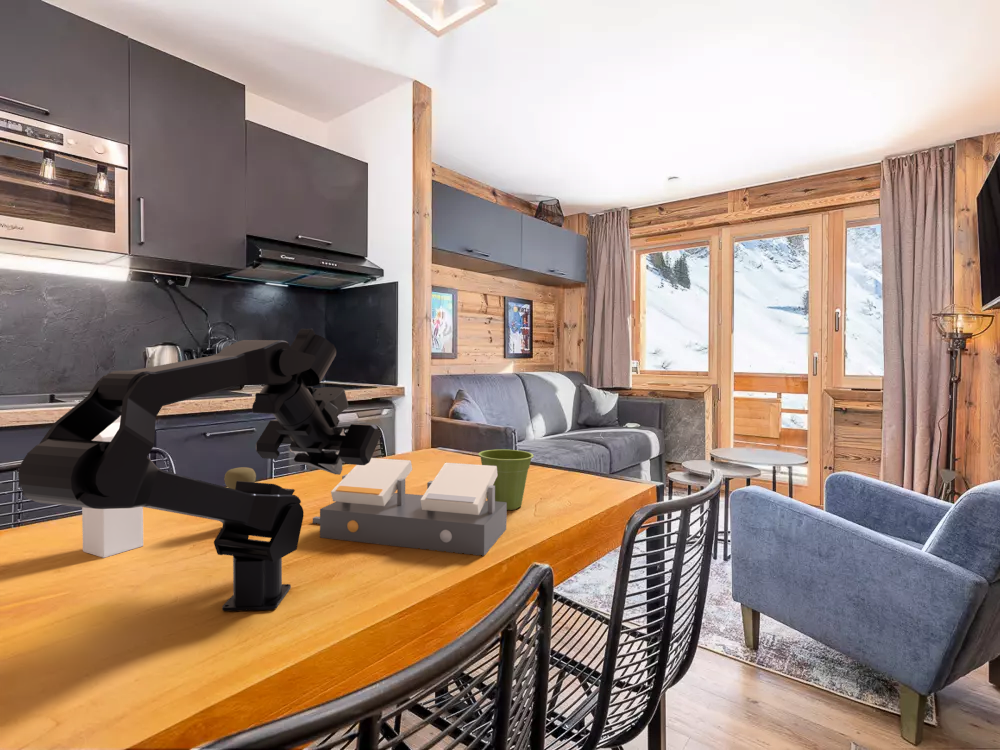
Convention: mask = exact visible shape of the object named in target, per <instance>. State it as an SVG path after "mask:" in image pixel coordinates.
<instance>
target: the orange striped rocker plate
mask: <svg viewBox="0 0 1000 750" xmlns="http://www.w3.org/2000/svg"><path fill="white" fill-rule="evenodd" d="M412 465H413V464H412V460H409V459H394V458H392V459H391V458H379V457H378V458H377V457H371V460H370V462H369V463H368V464H366V465H354V467H353V468H352V469H351V470H350V471H349V472H348V474H347V473H346V474H347V475H346V474H345V475H346V476H345V478H344V479H343V480H342V479H341V481H340V482H338V483H337V485H336V486H334V488H333V489H332V490H331V491H330V494H331V497H332V499H331V500H332V502H346V503H357V504H368V505H379V506H385V504H386V503H387V502H388V501H389V499H390V498H391V497H392V495H393V494H394V493H397V492H396V491H397V480H399V479H401V478H402V479H405V480H406V479H407V477H408V476H409V475H410V473H411V472H412V471H413V466H412Z"/></svg>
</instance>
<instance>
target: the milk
mask: <svg viewBox="0 0 1000 750" xmlns="http://www.w3.org/2000/svg"><path fill="white" fill-rule="evenodd" d="M120 419H121V416H120V417H119V418H118V419H117V420H115V421H114V422H113V423H112V424H111V425H109V426H108V427H107V428H106V429H105V430H103V431H102V432H101V433H100V434H99V435H97V436H96V437H95V438H94V439H93V440H92V441H105V442H111V440H112V439H113V437H114V436H115V434H116V433H117V431H118V430H119V427H120ZM81 509H82V510H81V511H82V512H81V514H82V516H81V517H82V518H81V519H82V520H81V521H82V525H81V526H82V552H83V553H87V554H91V555H94V556H97V557H98V558H103V559H105V558H108V557H111V556H115V555H118V554H121V553H124V552H128V551H131V550H134V549H138V548H141V547H143V546H144V507H135V508H118V509H93V508H84V507H81Z"/></svg>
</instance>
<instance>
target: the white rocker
mask: <svg viewBox="0 0 1000 750" xmlns="http://www.w3.org/2000/svg"><path fill="white" fill-rule="evenodd" d="M497 476H498V474H497V466H489V465H482V464H475V463H474V464H473V463H456V462H445V463H444V464H443V466H441V468H440V470H439V471H438V472H437V474H436V476H435V477H434V479H433V480H432V481H433V482H432V483H431V485H430V486H429V488H428V489H427V488H426V491H425V493H423V494H422V495H423V497H422V498H421V506H422V510H431V511H441V512H452V513H463V514H474V515H479V513H480V511H481V509H482V507H483V505H484V503H485V501H487V497H488V487H489V486H490V485H493V484H494V482H495V480H496V478H497Z"/></svg>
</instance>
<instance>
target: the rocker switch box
mask: <svg viewBox="0 0 1000 750" xmlns="http://www.w3.org/2000/svg"><path fill="white" fill-rule="evenodd" d="M346 475H347V473H346V474H344V475H342V476H341V481H342V480H343V479H344V478H345V476H346ZM432 482H433V480H430V481H427V484H426V485H427V486H426V490H427V489H428V488H429V486H430V485H431V483H432ZM396 491H397V492H395V493H394V494H393V495H392V497H391V498H390V499H389V501H388V502H387V503H386V504H385V506H379V505H368V504H357V503H346V502H335V501H333V502H332V503H331V504H328V505H326V506H323V507H322V508H320V509H319V516H314V517H312V524H316V523H317V524H319V538H322V539H333V540H339V541H348V542H349V541H351V542H356V543H367V544H375V545H382V546H384V545H385V546H392V547H401V548H408V549H418V548H420V550H426V549H429V551H435V550H437V551H436V552H438V551H439V552H444V551H446V553H453V552H455V553H454V554H462V553H464V555H470V554H473V555H472V556H479V555H482V556H481V557H484V555H485V556H486V554H487V553H488V552H489V551H490V550H491V548H492V547H493V546H494V545H495V543H496V542H497V541H498V540H499V539H500V537H501V536H502V535H503V534H504V533H505V532H506V530H507V513H508V512H507V511H508V510H507V502H497V501H495V486H494V485H490V486H489V487H488V501H487V500H486V501H485V503H484V505H483V507H482V509H481V511H480V513H479V515H474V514H463V513H452V512H441V511H431V510H422V506H421V498H422V497H423V495H424V494H413V493H406V479H402V478H401V479H399V480H397V490H396ZM317 524H316V525H317ZM498 538H499V539H498ZM489 549H490V550H489Z"/></svg>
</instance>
